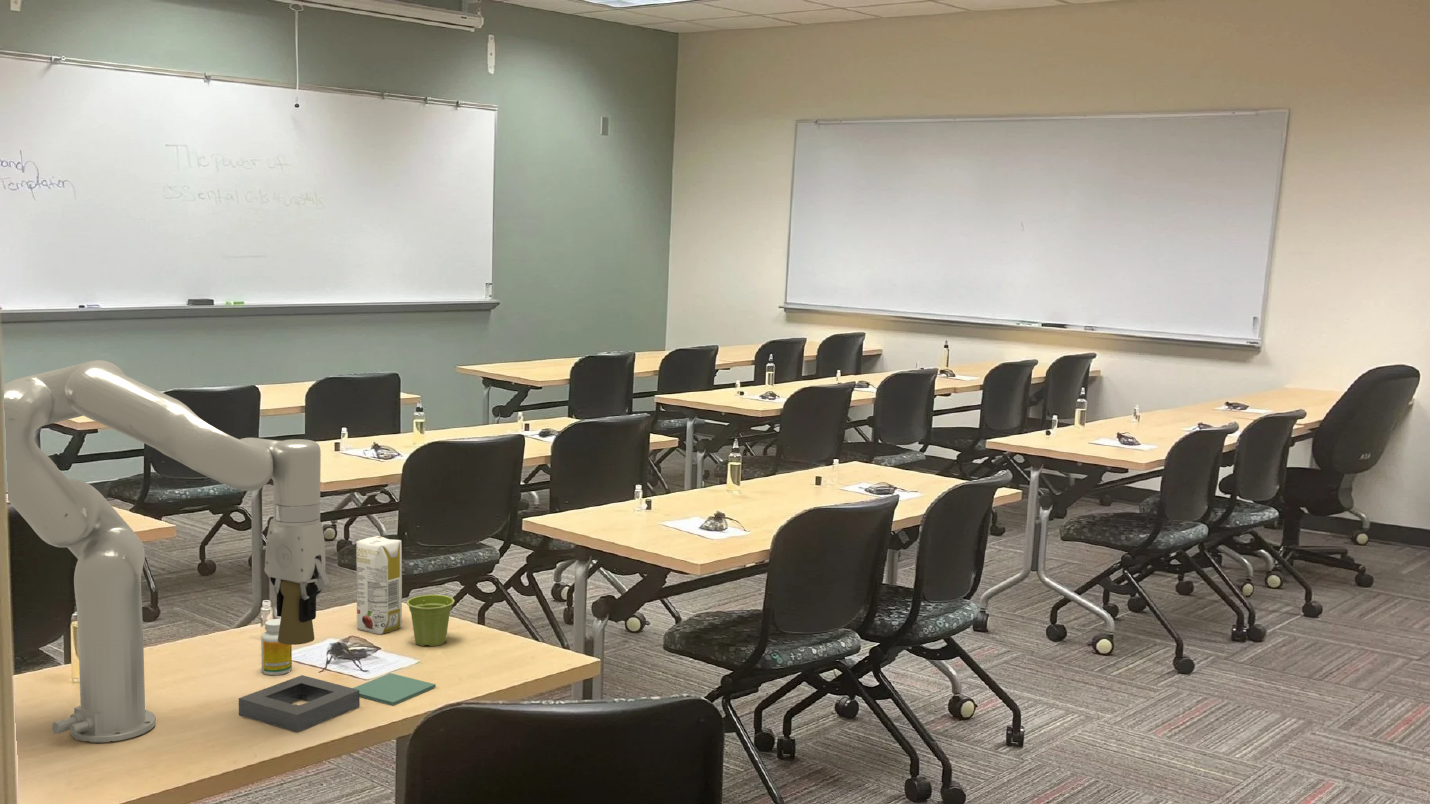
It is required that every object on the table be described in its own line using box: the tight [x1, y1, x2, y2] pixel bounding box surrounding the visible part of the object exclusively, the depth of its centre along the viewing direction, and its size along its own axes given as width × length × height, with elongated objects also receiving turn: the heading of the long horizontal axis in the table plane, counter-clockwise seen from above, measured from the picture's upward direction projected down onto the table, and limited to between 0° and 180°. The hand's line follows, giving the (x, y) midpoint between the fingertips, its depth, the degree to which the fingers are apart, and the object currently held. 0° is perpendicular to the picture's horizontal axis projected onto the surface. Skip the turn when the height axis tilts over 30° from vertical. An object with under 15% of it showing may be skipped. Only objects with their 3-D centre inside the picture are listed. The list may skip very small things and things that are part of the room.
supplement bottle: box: [260, 618, 293, 676], centre depth 234 cm, size 5×5×10 cm
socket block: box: [238, 674, 361, 733], centre depth 215 cm, size 14×14×3 cm
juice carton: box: [355, 535, 403, 635], centre depth 261 cm, size 8×9×19 cm
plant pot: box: [406, 594, 455, 647], centre depth 253 cm, size 9×9×9 cm
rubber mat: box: [352, 672, 436, 706], centre depth 226 cm, size 11×11×1 cm
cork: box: [278, 580, 315, 646], centre depth 212 cm, size 6×6×11 cm
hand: (296, 616), depth 213 cm, fingers closed on cork, 4 cm apart
